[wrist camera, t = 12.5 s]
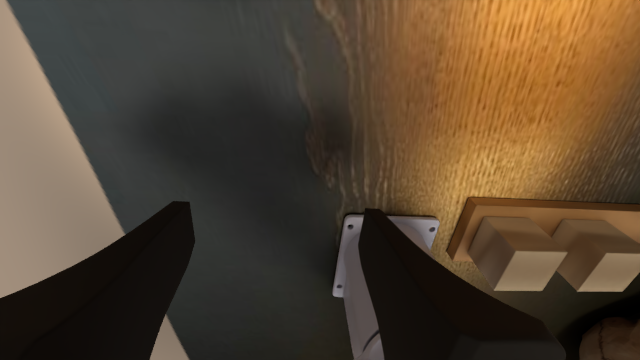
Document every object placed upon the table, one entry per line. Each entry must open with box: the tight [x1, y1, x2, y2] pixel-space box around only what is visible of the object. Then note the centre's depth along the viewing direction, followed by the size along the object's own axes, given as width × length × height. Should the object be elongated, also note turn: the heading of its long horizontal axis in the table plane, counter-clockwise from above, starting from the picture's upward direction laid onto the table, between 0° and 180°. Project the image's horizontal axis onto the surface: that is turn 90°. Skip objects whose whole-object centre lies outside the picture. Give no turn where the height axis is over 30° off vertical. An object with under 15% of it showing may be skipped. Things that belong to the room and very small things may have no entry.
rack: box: [447, 197, 640, 292], centre depth 24 cm, size 6×20×5 cm, turn 85°
